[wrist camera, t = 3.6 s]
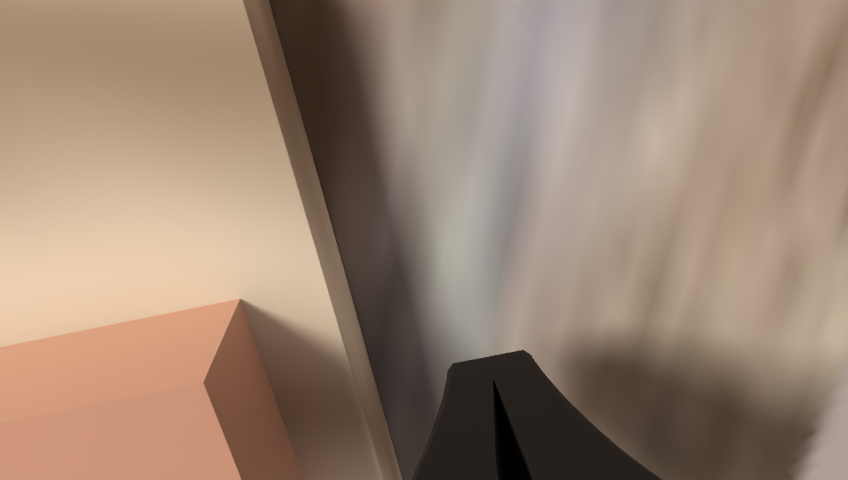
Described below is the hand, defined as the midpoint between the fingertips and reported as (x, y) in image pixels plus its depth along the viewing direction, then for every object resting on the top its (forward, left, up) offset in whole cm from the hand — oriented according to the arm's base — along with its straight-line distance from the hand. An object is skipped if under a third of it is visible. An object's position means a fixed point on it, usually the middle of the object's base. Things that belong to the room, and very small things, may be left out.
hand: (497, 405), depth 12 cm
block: (0, +6, -1) cm, 6 cm away
